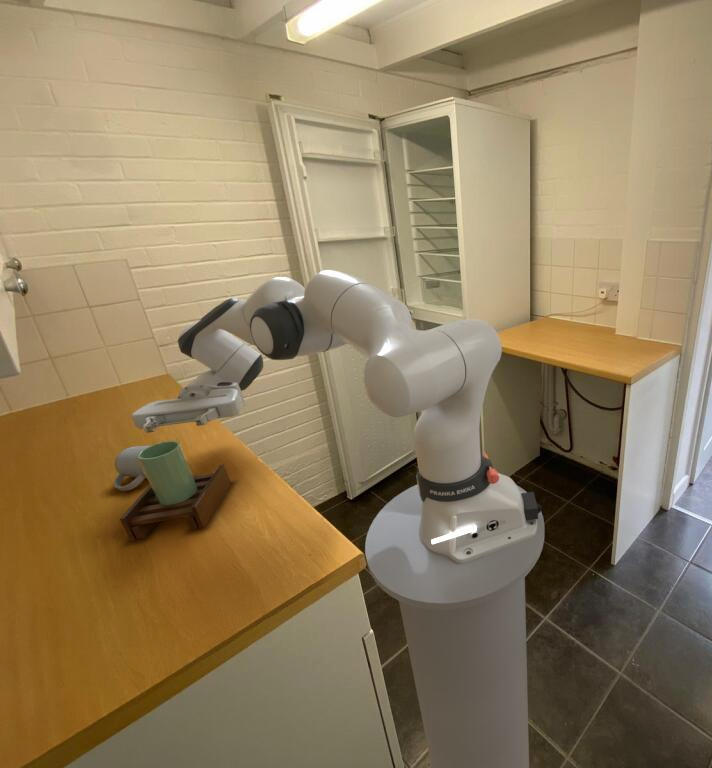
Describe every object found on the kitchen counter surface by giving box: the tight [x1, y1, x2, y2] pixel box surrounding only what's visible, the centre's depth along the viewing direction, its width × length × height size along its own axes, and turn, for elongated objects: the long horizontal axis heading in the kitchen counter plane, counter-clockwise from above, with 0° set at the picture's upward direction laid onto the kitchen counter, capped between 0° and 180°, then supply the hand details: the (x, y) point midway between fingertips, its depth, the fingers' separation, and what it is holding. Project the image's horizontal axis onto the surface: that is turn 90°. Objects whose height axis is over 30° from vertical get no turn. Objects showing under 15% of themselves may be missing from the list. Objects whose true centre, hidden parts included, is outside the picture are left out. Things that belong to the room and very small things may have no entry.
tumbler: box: [138, 440, 198, 505], centre depth 84 cm, size 7×7×11 cm
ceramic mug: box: [113, 445, 150, 492], centre depth 98 cm, size 11×8×8 cm
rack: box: [119, 463, 232, 542], centre depth 87 cm, size 13×15×6 cm
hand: (174, 425), depth 87 cm, fingers open, 8 cm apart
